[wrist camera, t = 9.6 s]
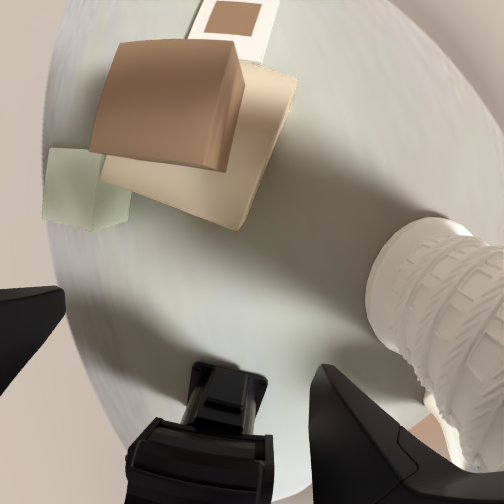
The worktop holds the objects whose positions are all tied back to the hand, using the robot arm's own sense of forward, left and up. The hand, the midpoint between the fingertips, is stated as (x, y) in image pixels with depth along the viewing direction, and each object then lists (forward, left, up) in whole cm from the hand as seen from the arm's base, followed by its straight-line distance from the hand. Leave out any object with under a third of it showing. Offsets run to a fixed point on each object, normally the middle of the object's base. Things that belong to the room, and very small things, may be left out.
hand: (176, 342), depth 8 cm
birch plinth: (+7, +3, -12) cm, 15 cm away
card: (+18, +4, -12) cm, 22 cm away
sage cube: (+3, +11, -12) cm, 17 cm away
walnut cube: (+8, +3, -7) cm, 11 cm away
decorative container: (+1, -16, -12) cm, 20 cm away
